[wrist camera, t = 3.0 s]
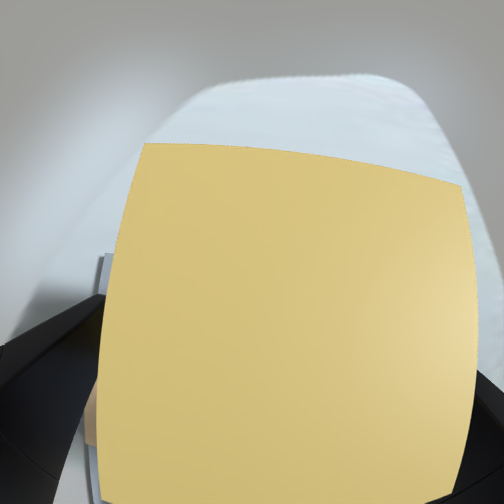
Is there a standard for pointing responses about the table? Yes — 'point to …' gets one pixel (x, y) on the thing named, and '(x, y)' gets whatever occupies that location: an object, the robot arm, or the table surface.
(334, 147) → the table surface
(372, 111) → the table surface
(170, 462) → the block
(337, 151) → the table surface
